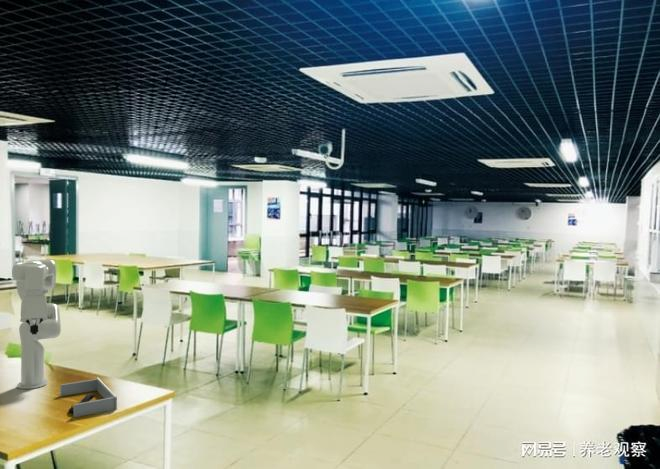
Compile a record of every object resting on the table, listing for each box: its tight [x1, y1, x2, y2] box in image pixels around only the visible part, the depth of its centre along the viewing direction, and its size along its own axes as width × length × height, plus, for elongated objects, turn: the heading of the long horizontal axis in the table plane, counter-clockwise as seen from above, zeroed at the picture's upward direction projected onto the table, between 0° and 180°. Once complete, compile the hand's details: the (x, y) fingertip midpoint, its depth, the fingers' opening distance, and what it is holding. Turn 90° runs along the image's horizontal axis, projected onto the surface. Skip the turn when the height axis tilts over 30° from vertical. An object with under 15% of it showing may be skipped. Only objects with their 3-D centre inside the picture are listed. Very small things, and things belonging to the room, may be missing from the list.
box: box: [59, 377, 118, 418], centre depth 222 cm, size 32×16×6 cm, turn 37°
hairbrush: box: [68, 393, 95, 412], centre depth 219 cm, size 8×4×25 cm
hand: (34, 333), depth 224 cm, fingers closed
